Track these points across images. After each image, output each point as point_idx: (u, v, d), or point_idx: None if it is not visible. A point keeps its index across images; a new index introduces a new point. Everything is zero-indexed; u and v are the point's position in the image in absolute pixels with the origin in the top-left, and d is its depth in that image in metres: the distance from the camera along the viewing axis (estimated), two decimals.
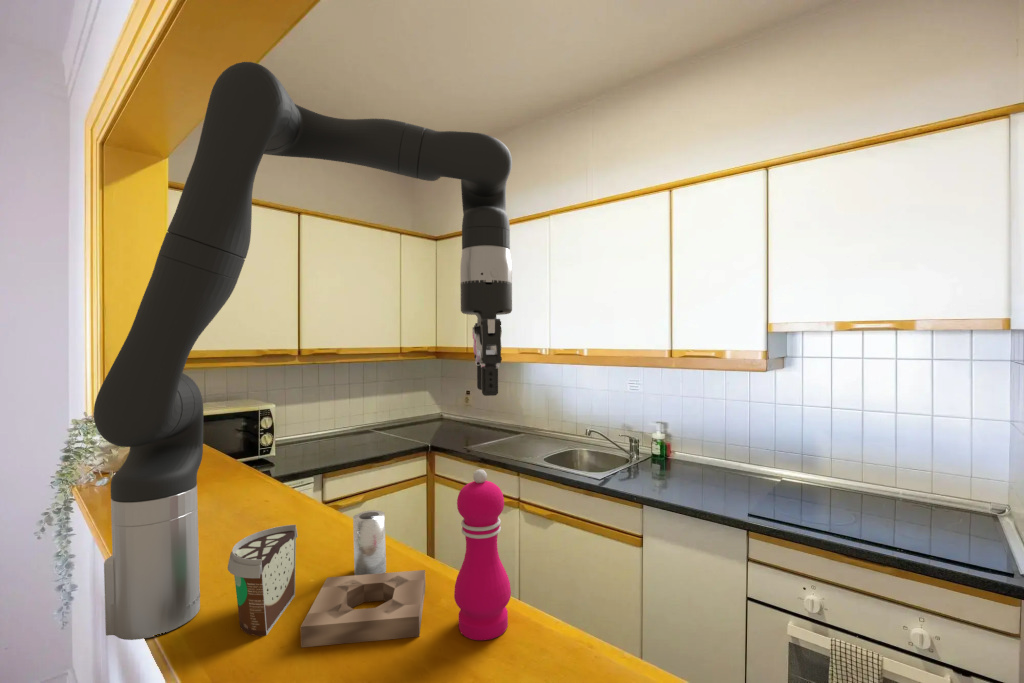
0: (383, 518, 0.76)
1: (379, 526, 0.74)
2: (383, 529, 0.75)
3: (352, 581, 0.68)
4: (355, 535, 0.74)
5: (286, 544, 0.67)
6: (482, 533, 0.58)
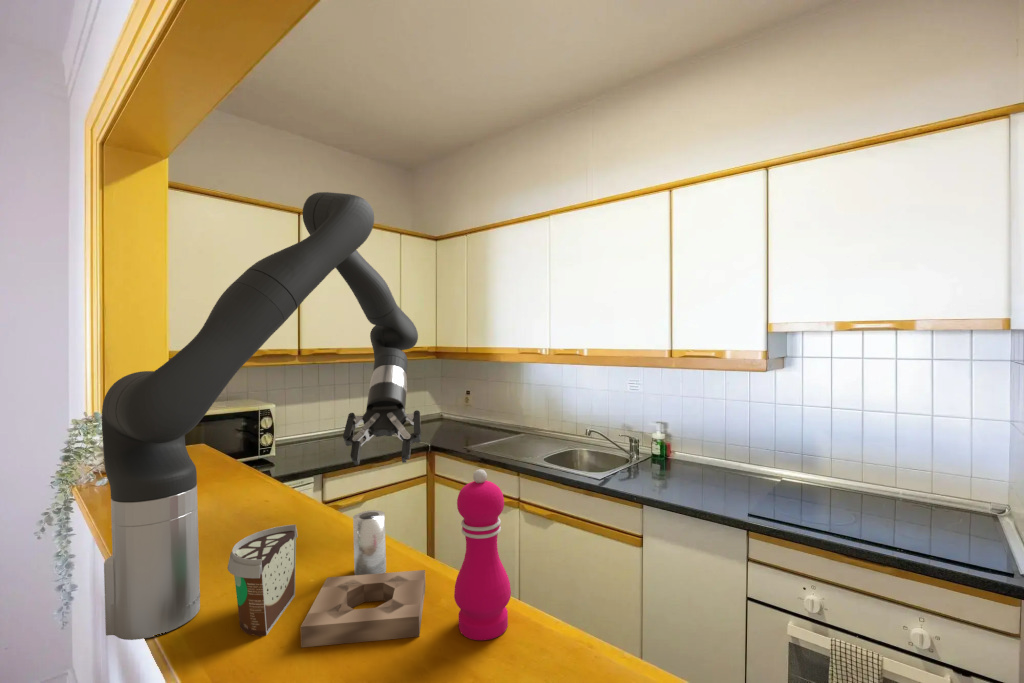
0: (384, 518, 0.76)
1: (379, 526, 0.74)
2: (383, 529, 0.75)
3: (352, 581, 0.68)
4: (355, 535, 0.74)
5: (286, 544, 0.67)
6: (482, 533, 0.58)
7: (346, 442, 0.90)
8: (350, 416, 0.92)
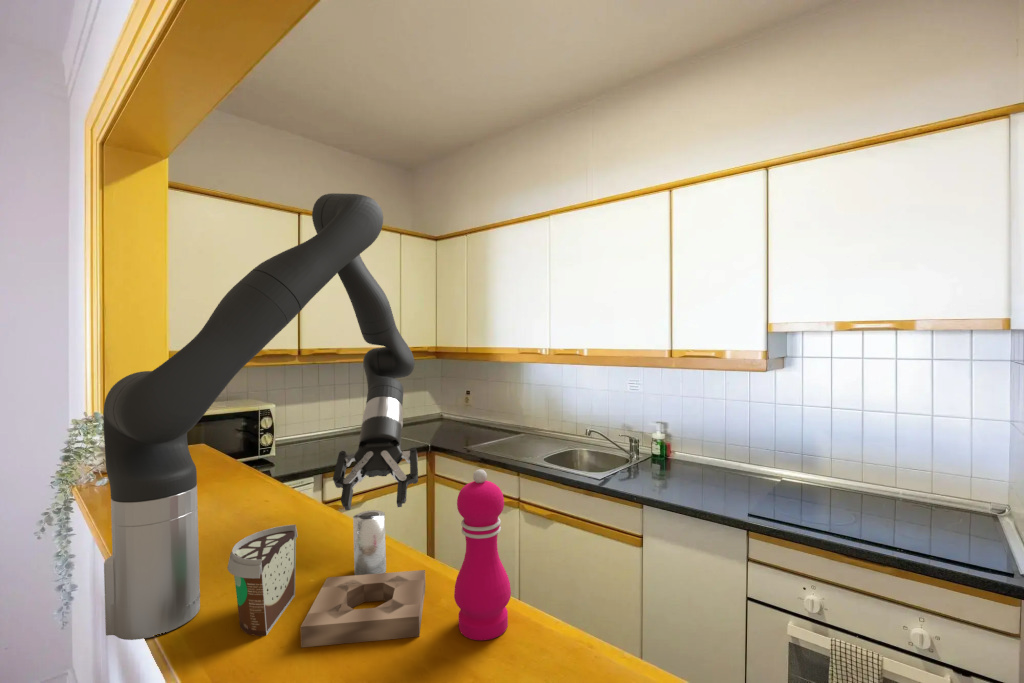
0: (383, 518, 0.76)
1: (379, 526, 0.74)
2: (383, 529, 0.75)
3: (352, 581, 0.68)
4: (355, 535, 0.74)
5: (286, 544, 0.67)
6: (482, 533, 0.58)
7: (336, 484, 0.82)
8: (341, 455, 0.85)
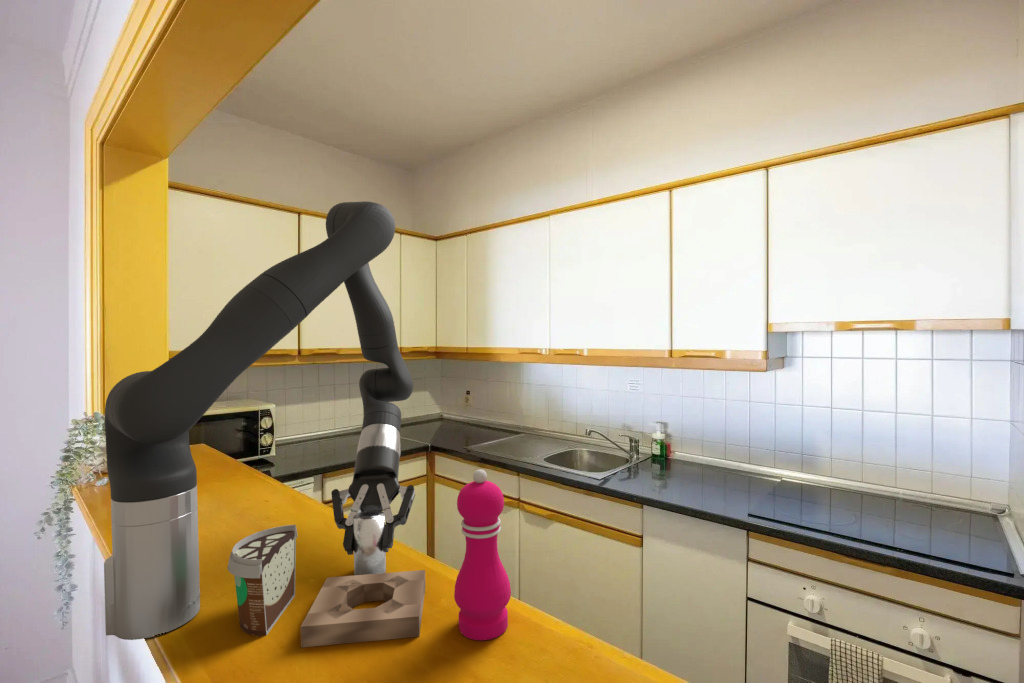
0: (383, 518, 0.76)
1: (379, 526, 0.74)
2: (383, 529, 0.75)
3: (352, 581, 0.68)
4: (355, 535, 0.74)
5: (286, 544, 0.67)
6: (482, 533, 0.58)
7: (338, 525, 0.76)
8: (334, 494, 0.79)
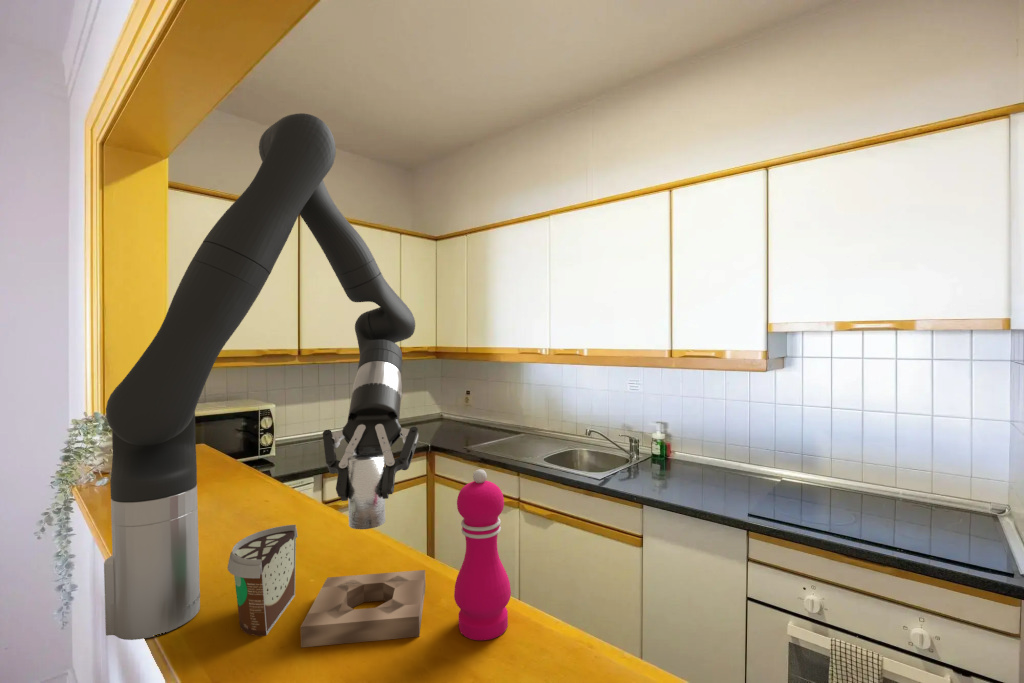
0: (383, 459, 0.65)
1: (378, 468, 0.64)
2: (382, 472, 0.65)
3: (352, 581, 0.68)
4: (350, 478, 0.64)
5: (286, 544, 0.67)
6: (482, 533, 0.58)
7: (330, 469, 0.66)
8: (326, 434, 0.69)
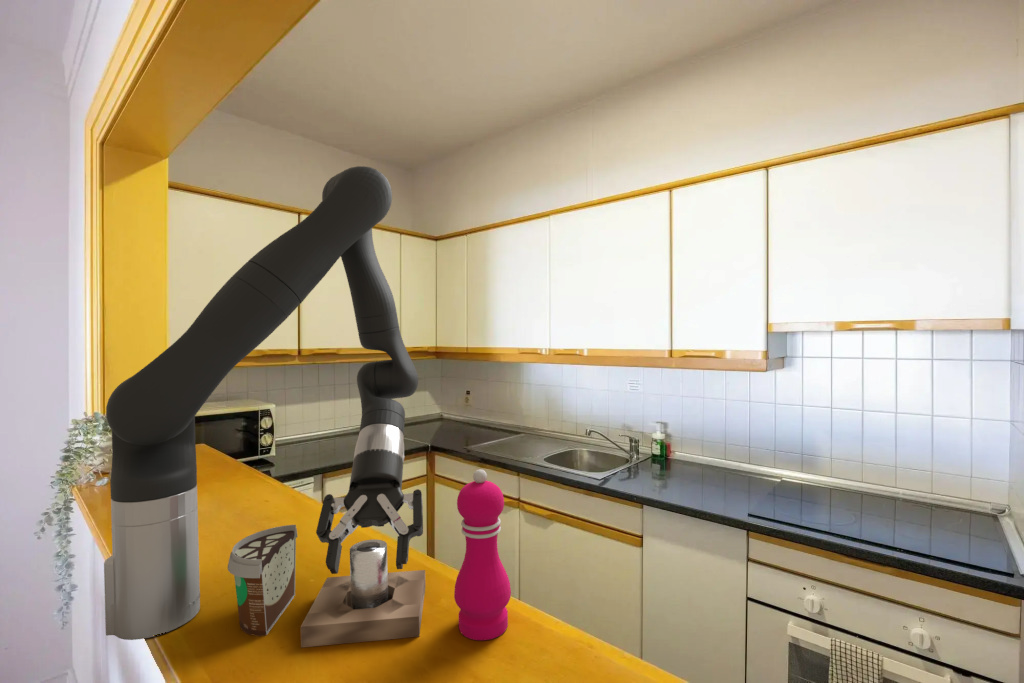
0: (386, 550, 0.64)
1: (380, 560, 0.63)
2: (385, 563, 0.64)
3: None
4: (352, 571, 0.62)
5: (285, 544, 0.67)
6: (482, 533, 0.58)
7: (321, 539, 0.65)
8: (327, 500, 0.68)
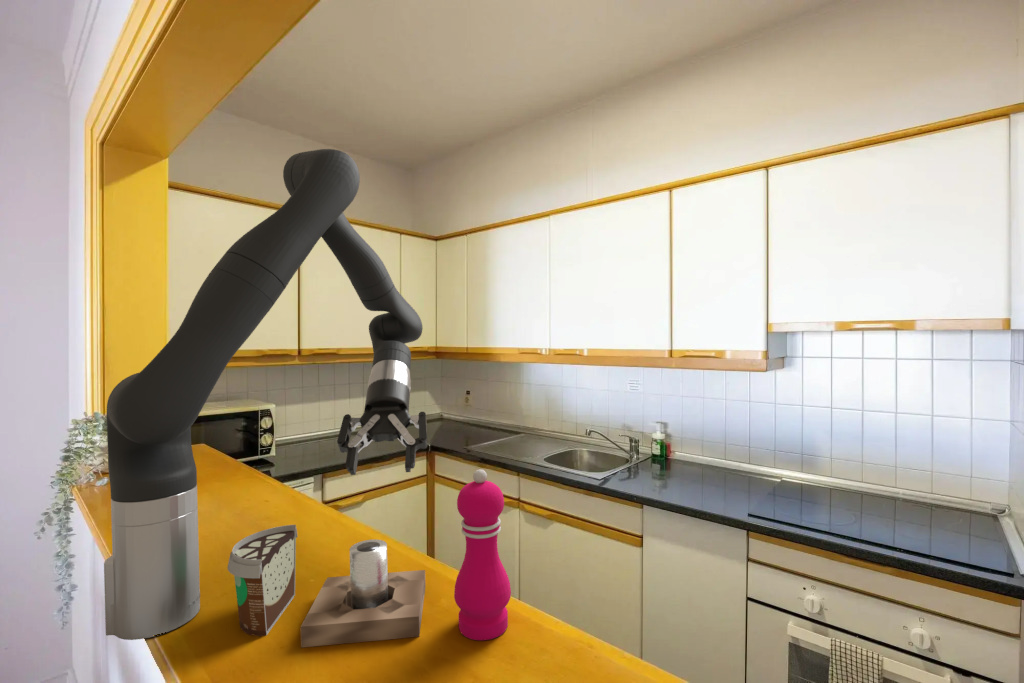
0: (386, 550, 0.64)
1: (380, 560, 0.63)
2: (385, 563, 0.64)
3: None
4: (352, 571, 0.63)
5: (286, 544, 0.67)
6: (482, 533, 0.58)
7: (341, 448, 0.77)
8: (345, 418, 0.80)
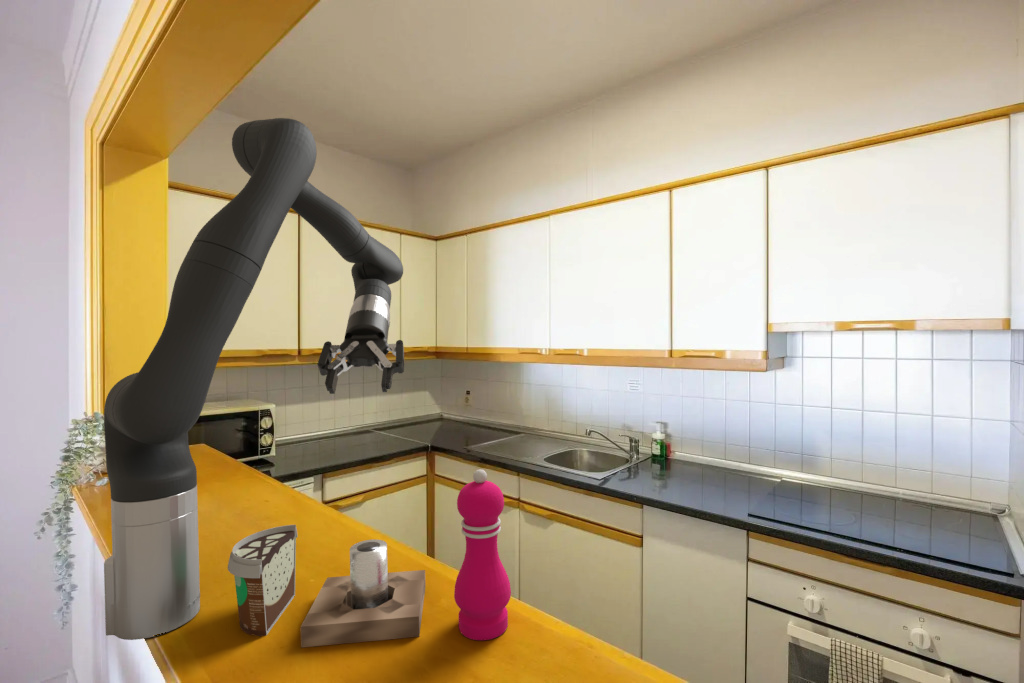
0: (386, 550, 0.64)
1: (380, 560, 0.63)
2: (385, 563, 0.64)
3: None
4: (352, 571, 0.63)
5: (286, 544, 0.67)
6: (482, 533, 0.58)
7: (321, 371, 0.82)
8: (326, 344, 0.84)
